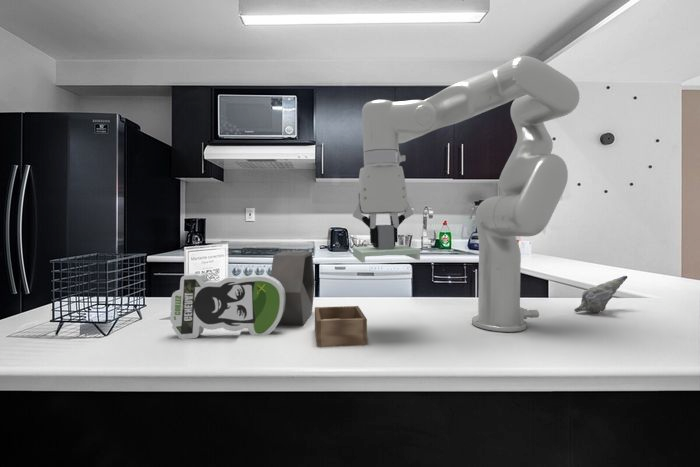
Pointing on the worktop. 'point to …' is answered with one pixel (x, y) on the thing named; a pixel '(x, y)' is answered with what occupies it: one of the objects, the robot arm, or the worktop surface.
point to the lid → (385, 246)
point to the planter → (295, 285)
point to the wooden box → (340, 326)
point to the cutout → (227, 304)
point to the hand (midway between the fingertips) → (384, 245)
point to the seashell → (599, 296)
